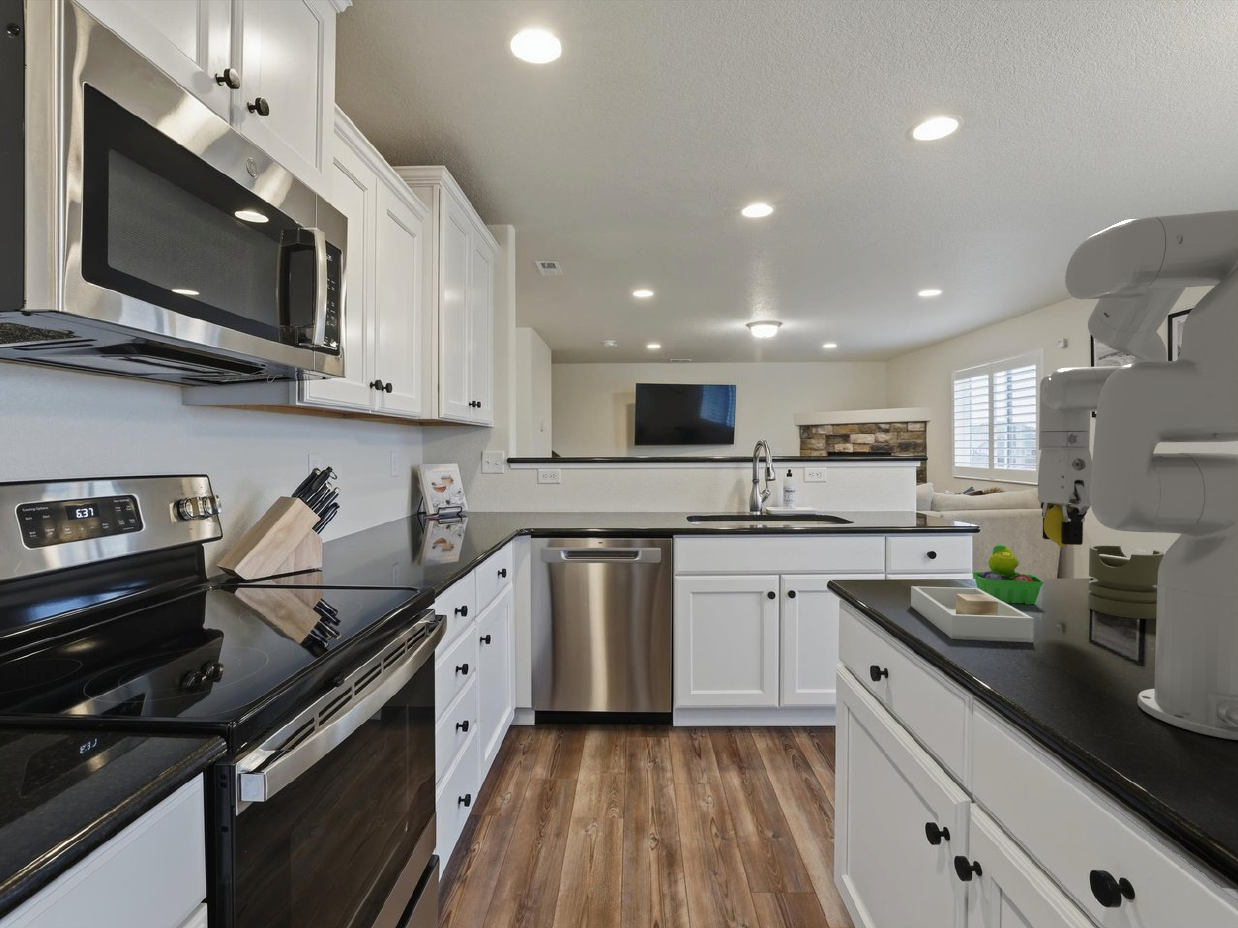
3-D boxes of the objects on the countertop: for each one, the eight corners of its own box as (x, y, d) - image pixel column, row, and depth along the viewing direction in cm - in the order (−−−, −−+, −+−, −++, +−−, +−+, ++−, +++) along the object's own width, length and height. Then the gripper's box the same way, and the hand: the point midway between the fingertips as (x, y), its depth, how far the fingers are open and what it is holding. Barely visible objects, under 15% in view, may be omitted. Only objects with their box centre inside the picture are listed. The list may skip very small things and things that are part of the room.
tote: (1033, 642, 103) (1033, 618, 103) (952, 638, 105) (952, 615, 105) (977, 608, 125) (978, 588, 125) (910, 605, 127) (911, 586, 126)
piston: (1147, 557, 115) (1078, 548, 125) (1145, 621, 115) (1076, 607, 125) (1174, 551, 121) (1106, 543, 130) (1172, 613, 121) (1104, 600, 131)
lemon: (1045, 547, 113) (1046, 503, 113) (1041, 543, 118) (1042, 501, 118) (1083, 550, 110) (1084, 505, 110) (1077, 546, 115) (1078, 502, 115)
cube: (966, 628, 109) (966, 600, 109) (955, 620, 114) (956, 593, 114) (997, 630, 108) (998, 601, 108) (985, 622, 113) (985, 594, 113)
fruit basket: (980, 603, 129) (981, 548, 129) (970, 593, 138) (970, 542, 137) (1044, 607, 126) (1045, 551, 125) (1029, 596, 134) (1030, 544, 134)
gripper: (1117, 441, 104) (1114, 549, 105) (1060, 442, 121) (1058, 535, 122) (1067, 441, 106) (1065, 548, 106) (1018, 442, 123) (1016, 534, 123)
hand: (1061, 540), depth 114 cm, fingers closed on lemon, 5 cm apart
